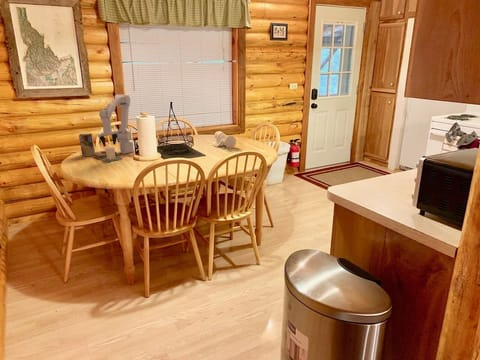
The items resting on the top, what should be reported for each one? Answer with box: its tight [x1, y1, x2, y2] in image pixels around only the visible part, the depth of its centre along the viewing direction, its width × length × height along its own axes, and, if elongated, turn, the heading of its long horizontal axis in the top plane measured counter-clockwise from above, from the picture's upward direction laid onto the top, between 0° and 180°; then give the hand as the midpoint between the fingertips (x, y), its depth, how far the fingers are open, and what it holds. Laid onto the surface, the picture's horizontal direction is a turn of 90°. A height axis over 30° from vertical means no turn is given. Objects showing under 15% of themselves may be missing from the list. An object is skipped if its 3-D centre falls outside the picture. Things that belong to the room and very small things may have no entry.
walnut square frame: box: [92, 149, 119, 160], centre depth 279 cm, size 14×12×2 cm
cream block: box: [105, 146, 116, 160], centre depth 269 cm, size 4×4×8 cm
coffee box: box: [78, 133, 96, 157], centre depth 279 cm, size 9×6×16 cm
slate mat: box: [100, 156, 123, 163], centre depth 270 cm, size 12×10×1 cm
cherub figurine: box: [211, 131, 237, 149], centre depth 303 cm, size 13×12×20 cm
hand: (109, 145), depth 268 cm, fingers open, 7 cm apart
